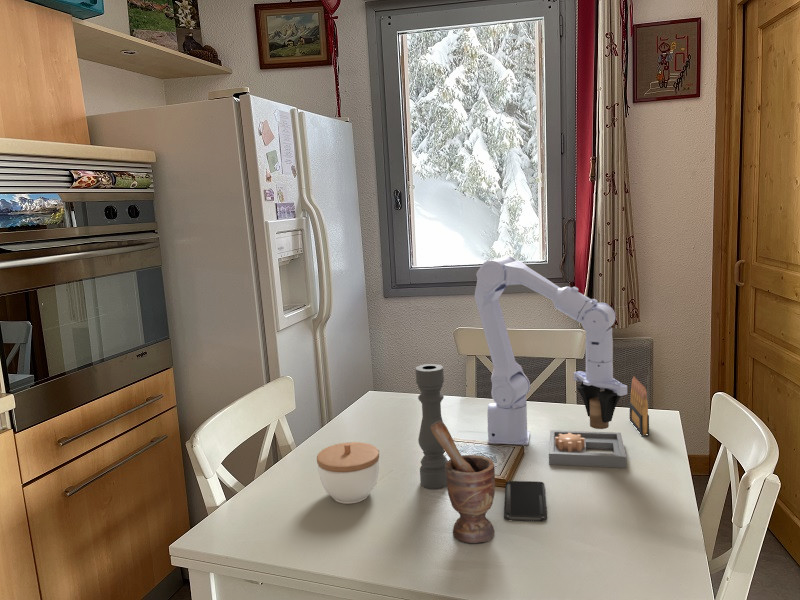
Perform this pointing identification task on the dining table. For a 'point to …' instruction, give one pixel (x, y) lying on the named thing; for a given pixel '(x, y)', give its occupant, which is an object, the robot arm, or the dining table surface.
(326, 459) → the lidded bowl
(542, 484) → the phone
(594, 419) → the brown rounded cylinder
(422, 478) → the candle holder
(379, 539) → the dining table surface
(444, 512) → the dining table surface
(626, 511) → the dining table surface
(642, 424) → the ammunition clip
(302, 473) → the dining table surface
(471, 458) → the mortar and pestle
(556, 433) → the housing
